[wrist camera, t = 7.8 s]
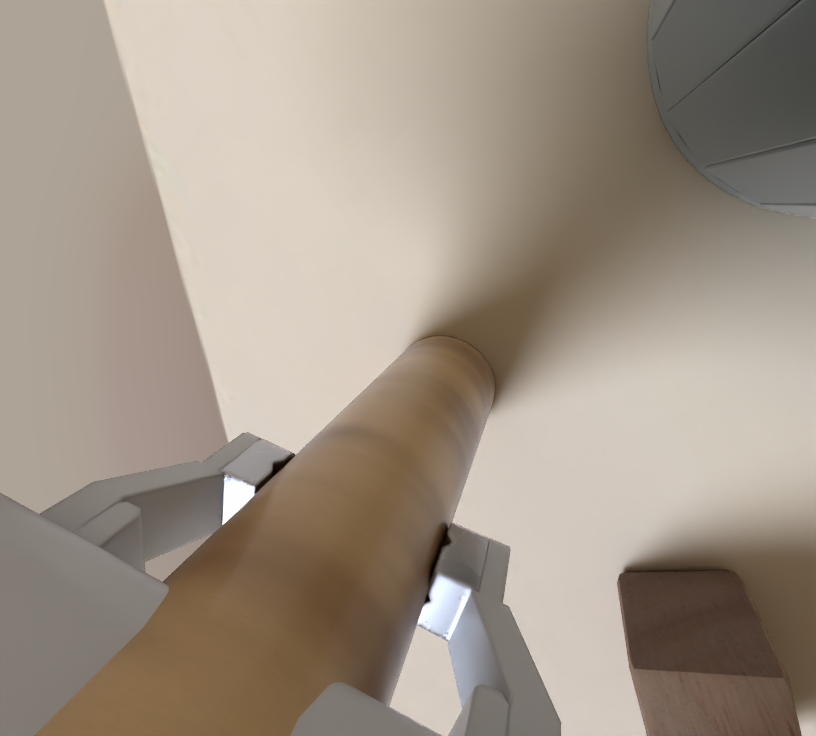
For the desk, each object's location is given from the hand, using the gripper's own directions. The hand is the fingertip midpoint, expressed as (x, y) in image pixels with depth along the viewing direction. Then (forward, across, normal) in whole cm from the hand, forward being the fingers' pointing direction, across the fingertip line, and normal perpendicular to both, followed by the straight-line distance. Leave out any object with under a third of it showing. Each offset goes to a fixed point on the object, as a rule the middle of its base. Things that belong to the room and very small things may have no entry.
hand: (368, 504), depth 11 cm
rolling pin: (+8, 0, 0) cm, 8 cm away
